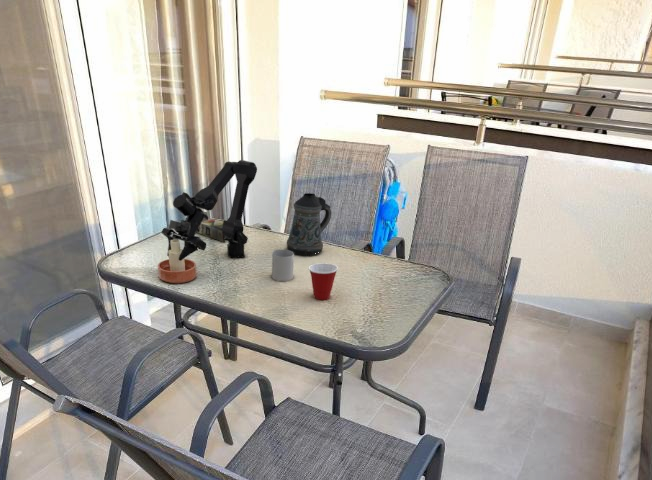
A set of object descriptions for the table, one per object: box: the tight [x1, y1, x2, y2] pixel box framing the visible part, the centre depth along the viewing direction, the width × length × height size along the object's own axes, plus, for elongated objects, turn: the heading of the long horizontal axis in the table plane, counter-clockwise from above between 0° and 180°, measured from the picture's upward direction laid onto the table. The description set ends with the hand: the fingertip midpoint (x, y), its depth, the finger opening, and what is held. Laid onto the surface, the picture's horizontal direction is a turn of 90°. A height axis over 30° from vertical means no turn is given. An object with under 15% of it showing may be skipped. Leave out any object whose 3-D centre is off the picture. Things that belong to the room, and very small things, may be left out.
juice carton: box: [196, 217, 226, 243], centre depth 239 cm, size 20×10×6 cm, turn 54°
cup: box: [271, 249, 295, 282], centre depth 200 cm, size 8×8×10 cm
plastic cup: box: [308, 262, 339, 301], centre depth 186 cm, size 11×11×12 cm
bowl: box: [157, 258, 198, 284], centre depth 195 cm, size 14×14×5 cm
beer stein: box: [286, 192, 332, 257], centre depth 225 cm, size 16×19×25 cm
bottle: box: [167, 240, 185, 272], centre depth 192 cm, size 6×6×13 cm
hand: (173, 258), depth 191 cm, fingers closed on bottle, 6 cm apart
